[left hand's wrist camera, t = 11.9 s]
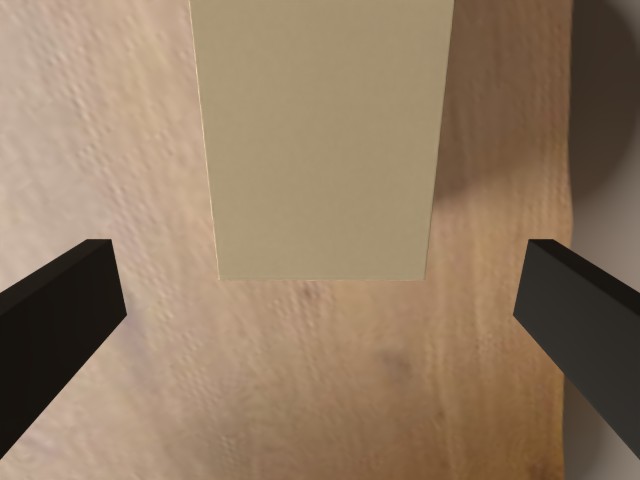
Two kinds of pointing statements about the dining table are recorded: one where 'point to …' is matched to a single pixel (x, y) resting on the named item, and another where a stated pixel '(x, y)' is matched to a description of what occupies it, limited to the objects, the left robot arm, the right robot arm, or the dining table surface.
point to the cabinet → (321, 134)
